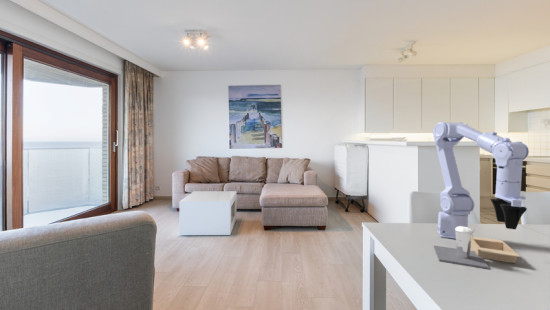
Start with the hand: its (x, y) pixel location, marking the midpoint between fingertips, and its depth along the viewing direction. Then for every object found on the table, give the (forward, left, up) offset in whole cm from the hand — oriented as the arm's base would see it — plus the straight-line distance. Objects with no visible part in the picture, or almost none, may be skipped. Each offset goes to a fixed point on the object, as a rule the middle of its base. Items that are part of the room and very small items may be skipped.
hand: (506, 225), depth 81 cm
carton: (-3, +1, -10) cm, 11 cm away
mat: (-13, -6, -10) cm, 17 cm away
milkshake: (-11, -6, -10) cm, 16 cm away
